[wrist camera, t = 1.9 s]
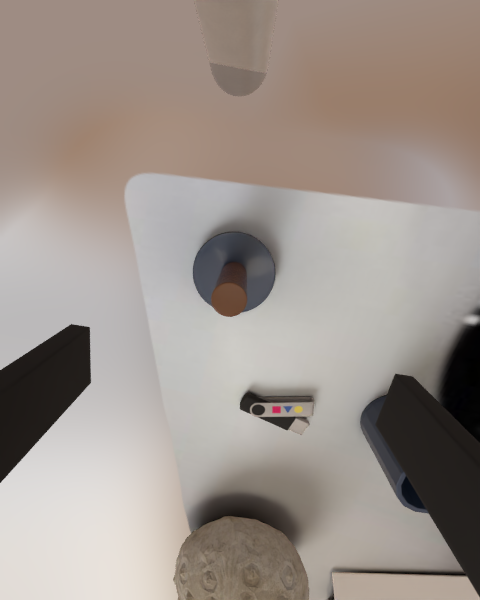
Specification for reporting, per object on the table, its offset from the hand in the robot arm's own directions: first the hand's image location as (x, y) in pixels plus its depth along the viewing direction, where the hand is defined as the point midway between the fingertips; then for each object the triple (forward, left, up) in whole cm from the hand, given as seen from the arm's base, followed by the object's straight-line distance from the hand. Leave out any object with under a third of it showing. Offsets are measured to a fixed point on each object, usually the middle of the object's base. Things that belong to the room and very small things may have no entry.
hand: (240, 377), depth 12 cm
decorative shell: (+38, +7, -17) cm, 43 cm away
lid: (-1, -1, -17) cm, 17 cm away
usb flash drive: (+14, +7, -17) cm, 24 cm away
